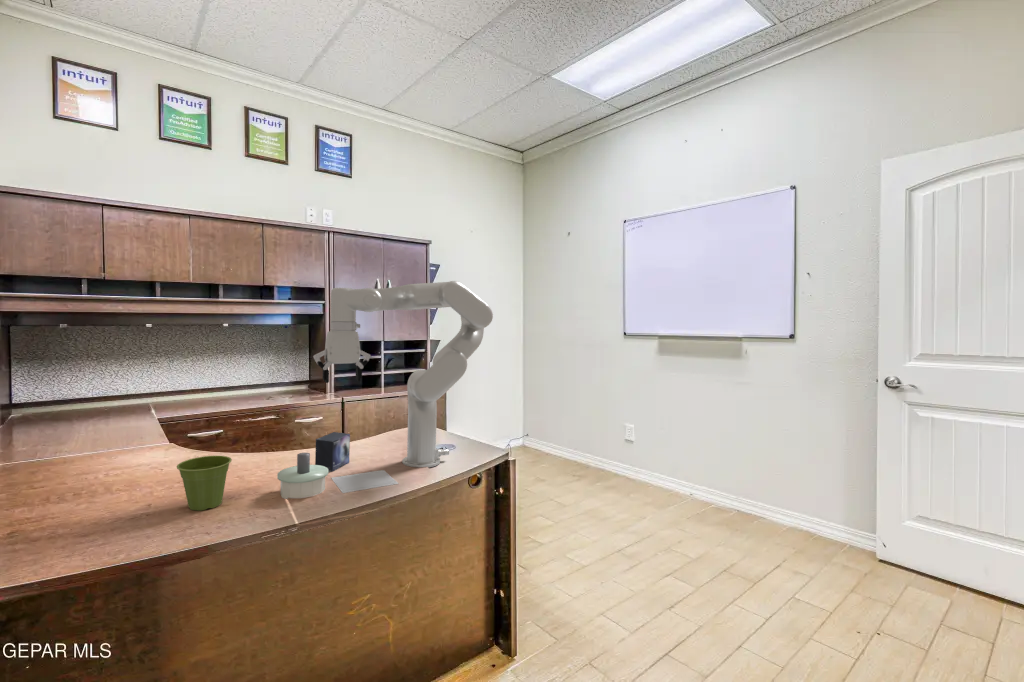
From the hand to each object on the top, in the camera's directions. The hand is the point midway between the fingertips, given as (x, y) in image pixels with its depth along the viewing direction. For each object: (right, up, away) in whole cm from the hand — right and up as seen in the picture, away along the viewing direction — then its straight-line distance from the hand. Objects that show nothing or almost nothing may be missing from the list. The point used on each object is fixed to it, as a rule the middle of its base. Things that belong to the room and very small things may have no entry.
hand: (342, 381), depth 154 cm
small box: (-4, -28, +3) cm, 29 cm away
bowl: (-5, -29, -19) cm, 35 cm away
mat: (+10, -29, -9) cm, 32 cm away
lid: (-4, -24, -19) cm, 31 cm away
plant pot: (-25, -30, -29) cm, 48 cm away
